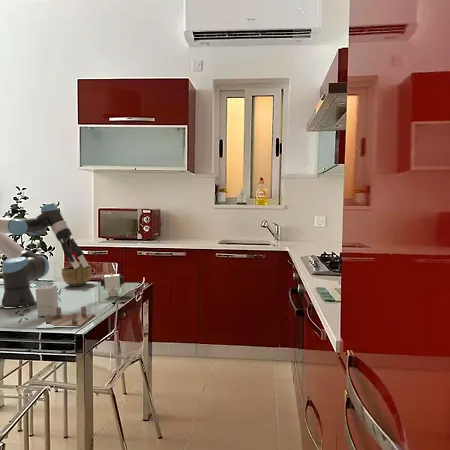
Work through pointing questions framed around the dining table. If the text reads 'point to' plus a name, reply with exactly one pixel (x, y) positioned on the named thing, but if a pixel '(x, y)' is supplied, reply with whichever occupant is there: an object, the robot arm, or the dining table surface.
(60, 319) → the stub plate
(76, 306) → the dining table surface
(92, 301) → the dining table surface
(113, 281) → the pneumatic valve
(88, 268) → the tan woven basket
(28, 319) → the dining table surface
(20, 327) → the dining table surface
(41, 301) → the supplement box
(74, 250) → the robot arm
